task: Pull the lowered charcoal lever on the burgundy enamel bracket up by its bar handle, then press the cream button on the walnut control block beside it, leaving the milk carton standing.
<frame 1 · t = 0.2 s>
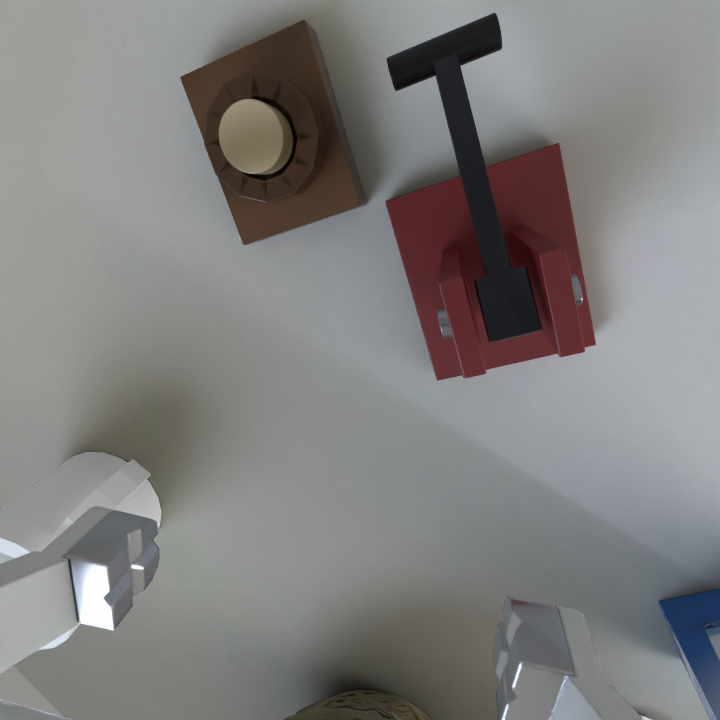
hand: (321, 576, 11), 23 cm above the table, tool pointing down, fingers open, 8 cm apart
bracket: (490, 269, 31), on the table
button: (256, 138, 26), point 4 cm above the table, slide at 0.1 cm
mug: (118, 494, 43), on the table
lever: (476, 185, 22), point 8 cm above the table, hinge at -20.0°
control block: (283, 144, 30), on the table
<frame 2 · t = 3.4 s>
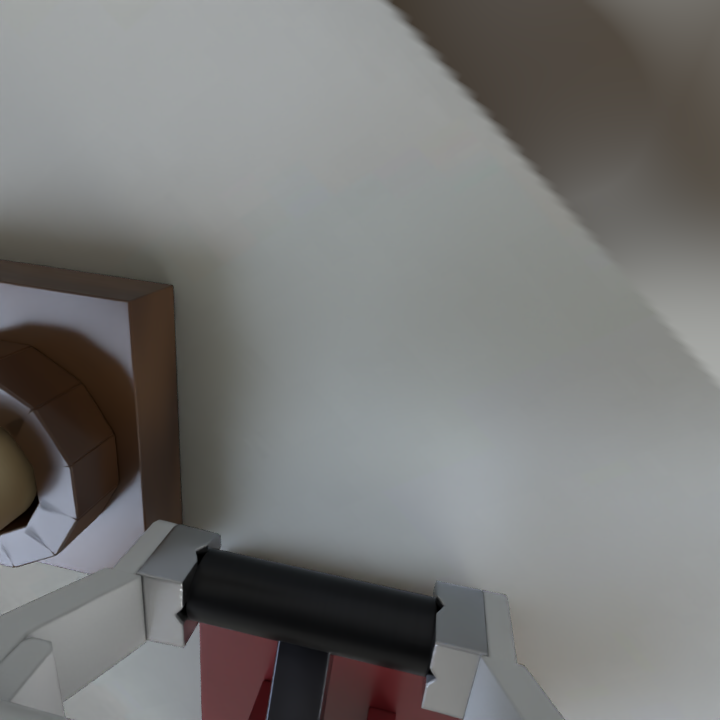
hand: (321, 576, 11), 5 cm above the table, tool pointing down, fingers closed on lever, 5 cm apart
bracket: (332, 695, 20), on the table
control block: (73, 408, 17), on the table
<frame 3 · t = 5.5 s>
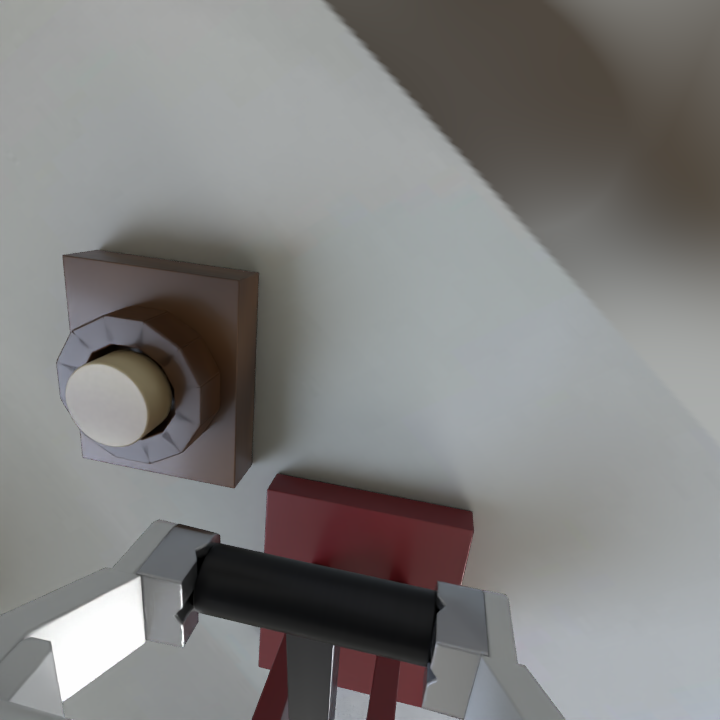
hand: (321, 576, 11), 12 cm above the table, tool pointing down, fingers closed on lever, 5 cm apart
bracket: (359, 584, 26), on the table
button: (120, 397, 20), point 4 cm above the table, slide at 0.1 cm
control block: (178, 362, 24), on the table
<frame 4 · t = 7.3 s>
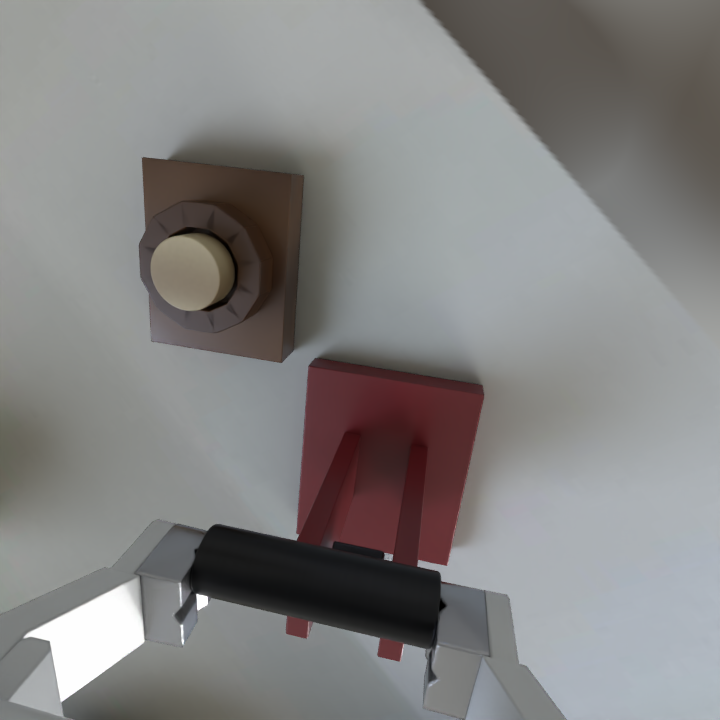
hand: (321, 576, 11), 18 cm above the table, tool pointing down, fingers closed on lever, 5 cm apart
bracket: (384, 458, 30), on the table
button: (193, 271, 24), point 4 cm above the table, slide at 0.1 cm
lever: (343, 578, 16), point 14 cm above the table, hinge at 46.8°, touching gripper
control block: (232, 259, 28), on the table
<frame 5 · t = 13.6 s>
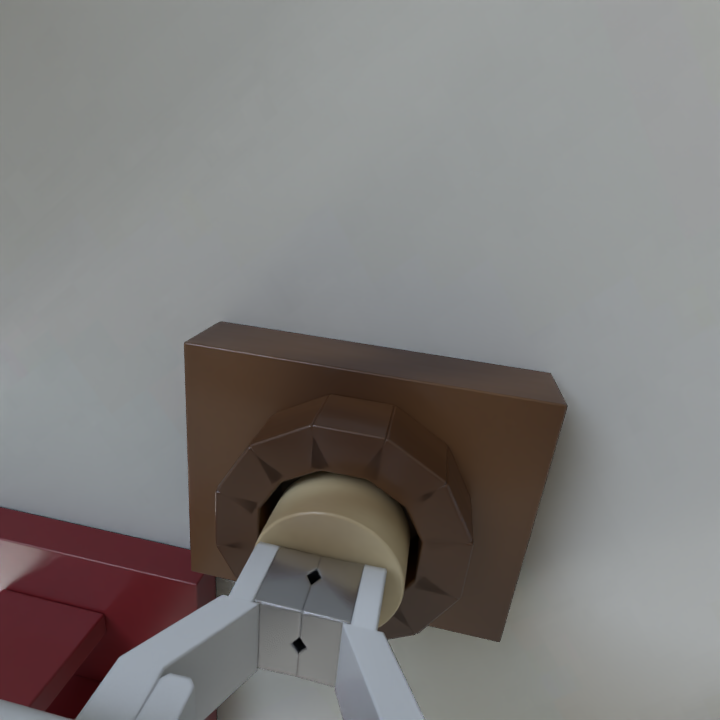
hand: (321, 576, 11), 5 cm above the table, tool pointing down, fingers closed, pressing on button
bracket: (87, 615, 21), on the table
button: (334, 551, 12), point 4 cm above the table, slide at -0.2 cm, touching gripper
control block: (363, 460, 16), on the table
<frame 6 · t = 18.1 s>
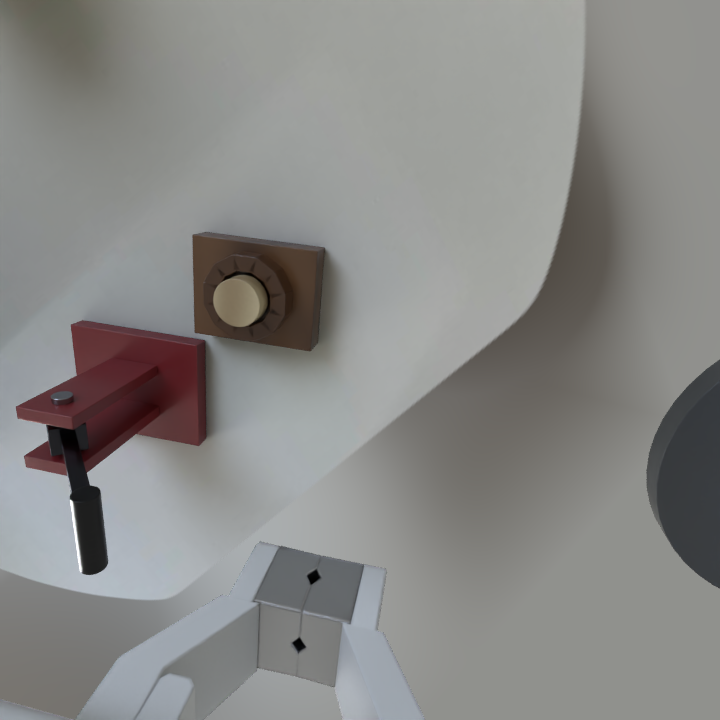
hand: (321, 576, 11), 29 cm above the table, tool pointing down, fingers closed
bracket: (145, 380, 45), on the table
button: (241, 300, 36), point 4 cm above the table, slide at 0.1 cm
lever: (76, 471, 31), point 14 cm above the table, hinge at 45.3°
control block: (262, 288, 40), on the table
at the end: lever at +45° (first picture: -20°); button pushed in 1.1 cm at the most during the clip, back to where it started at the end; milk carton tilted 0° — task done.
